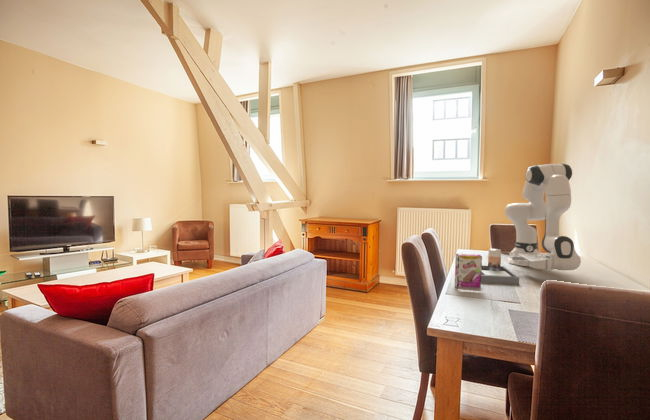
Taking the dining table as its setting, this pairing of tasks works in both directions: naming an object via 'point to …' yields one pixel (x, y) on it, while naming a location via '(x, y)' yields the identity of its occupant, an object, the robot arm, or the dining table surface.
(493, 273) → the white rectangular block
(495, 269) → the steel tin
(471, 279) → the candy bar box
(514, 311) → the dining table surface
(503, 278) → the tray
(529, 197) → the robot arm
